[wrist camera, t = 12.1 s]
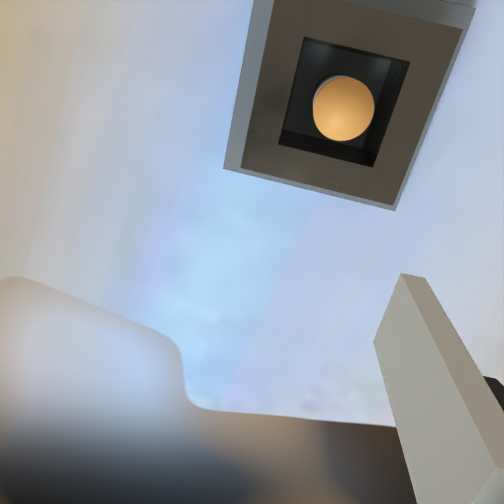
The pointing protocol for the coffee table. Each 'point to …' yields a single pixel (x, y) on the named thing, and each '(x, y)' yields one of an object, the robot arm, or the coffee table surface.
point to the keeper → (332, 86)
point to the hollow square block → (387, 109)
